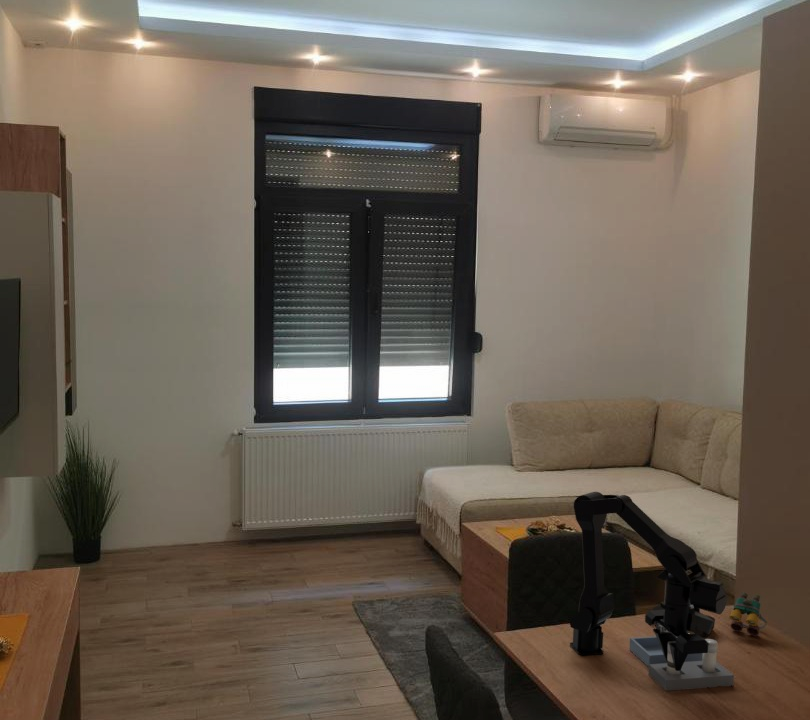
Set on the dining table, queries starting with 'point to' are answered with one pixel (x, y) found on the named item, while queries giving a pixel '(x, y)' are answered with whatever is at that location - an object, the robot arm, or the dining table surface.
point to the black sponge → (695, 629)
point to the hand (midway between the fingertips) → (673, 666)
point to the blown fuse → (671, 662)
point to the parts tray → (654, 651)
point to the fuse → (710, 657)
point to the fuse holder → (690, 676)
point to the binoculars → (752, 611)
